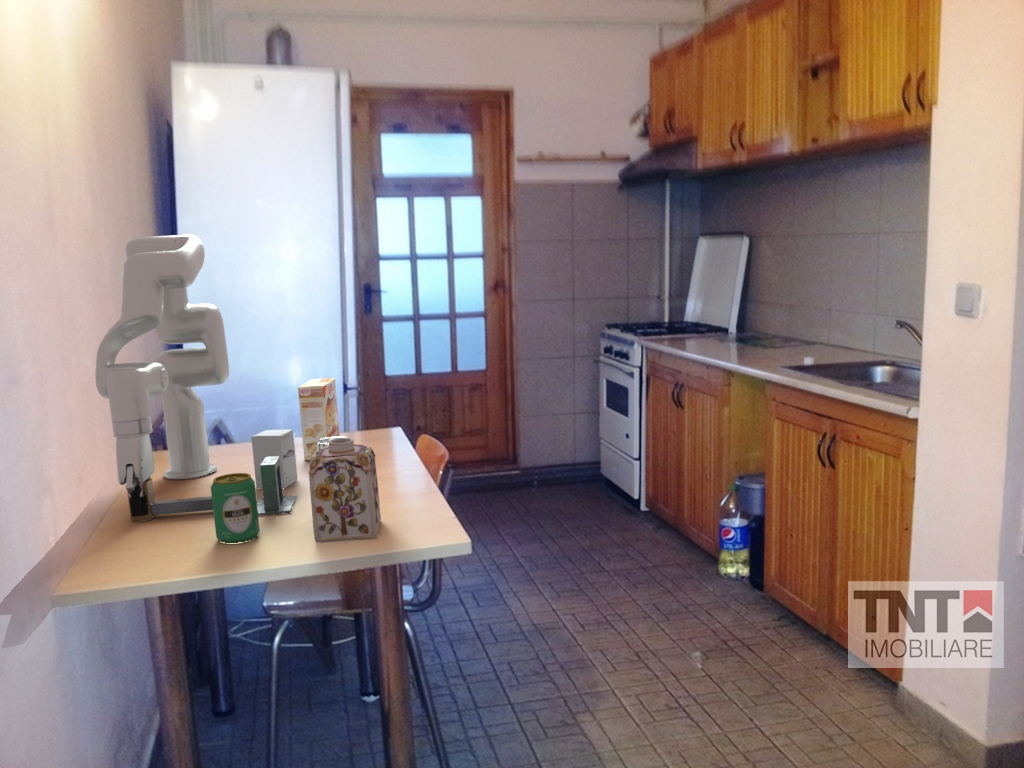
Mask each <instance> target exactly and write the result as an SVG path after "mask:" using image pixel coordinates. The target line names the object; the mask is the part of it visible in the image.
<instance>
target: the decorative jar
mask: <svg viewBox="0 0 1024 768" xmlns="http://www.w3.org/2000/svg"><path fill="white" fill-rule="evenodd" d="M309 461H310V463H309V466H308V467H309V468H308V469H309V470H308V473H307V474H308V478H309V479H308V480H309V492H310V493H309V494H310V503H311V505H310V506H311V518H312V528H313V538H314V541H315V542H316V543H317V542H321V543H331V542H341V541H342V542H343V541H345V542H346V541H355V540H356V541H357V540H367V539H376V538H377V537H378V532H379V529H380V526H381V521H382V518H381V508H380V504H381V503H380V495H379V493H380V492H379V484H378V483H379V482H378V475H377V466H376V454H375V451H374V450H373V448H372V447H371V446H368V445H365V444H358V443H357V444H355V443H354V439H353V438H350V437H346V438H338V439H332V440H330V441H329V447H327V448H323V449H320V450H317V451H314V453H313V454H312V455H311V460H309Z"/></svg>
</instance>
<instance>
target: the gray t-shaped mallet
mask: <svg viewBox="0 0 1024 768" xmlns="http://www.w3.org/2000/svg"><path fill="white" fill-rule="evenodd" d="M138 480H139V479H138ZM138 480H134V483H135V482H139V481H138ZM143 486H144V496H146V500H147V508H148V514H147V515H146V516H135V517H133V516H132V515H131V508H130V500H129V494H128V491H127V490H126V491H127V497H128V505H129V506H128V508H129V513H130V521H131V523H136V522H146V521H152V520H153V519H154V518H155V517H156V516H162V515H172V514H183V513H184V514H185V513H194V512H197V513H198V512H207V511H213V503H212V495H210V496H199V497H189V498H188V497H187V498H186V497H185V498H177V499H175V498H174V499H165V500H164V499H163V500H155V492H154V484H153V477H151V478H150V479H146V480H145V481H144V482H143ZM135 487H138V488H139V485H137V486H135Z"/></svg>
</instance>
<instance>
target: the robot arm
mask: <svg viewBox="0 0 1024 768" xmlns="http://www.w3.org/2000/svg"><path fill="white" fill-rule="evenodd" d="M125 253H126V260H125V262H124V265H123V277H122V278H123V279H122V298H121V314H120V317H119V318H118V320H117V321H116V322H115V323H114V324H113V325H111V327H110V328H109V330H108V331H107V332H106V334H105V335H104V336H103V338H102V340H101V341H100V343H99V346H98V348H97V352H96V358H95V359H96V360H95V361H96V363H95V386H96V390H97V392H98V394H99V395H100V396H101V397H102V398H103V399H107V400H108V401H109V409H110V417H111V418H110V419H111V424H112V432H113V437H114V438H116V439H115V440H116V441H115V451H116V453H115V454H116V455H115V457H116V468H117V478H118V479H117V480H118V484H120V486H121V485H122V486H123V485H125V489H126V491H128V492H127V495H128V494H129V500H130V507H129V509H130V508H131V515H132V516H133V517H135V516H146V515H147V514H148V508H147V500H146V496H144V486H143V482H144V481H145V480H146V479H150V478H152V477H151V476H152V475H154V473H155V460H154V451H153V447H152V440H151V435H150V434H152V433H153V432H154V430H153V423H152V422H153V421H152V416H151V415H152V414H151V406H150V399H149V398H154V397H158V396H160V397H161V403H162V410H163V411H162V412H163V419H164V429H165V434H166V444H167V445H166V446H167V454H168V460H169V461H168V462H169V468H168V469H166V470H165V471H164V472H163V475H164V478H166V479H167V480H188V479H189V480H190V479H196V478H200V476H201V477H204V476H203V475H205V476H207V475H206V474H209V473H211V474H213V473H212V472H214V471H215V472H216V471H217V470H218V465H217V464H216V463H212V462H211V461H210V453H209V443H208V441H209V440H208V435H207V425H206V416H205V409H204V408H205V407H204V402H203V401H202V399H201V397H200V396H199V394H197V392H196V391H195V390H194V389H193V388H195V387H206V386H216V385H218V386H219V385H222V384H224V383H226V381H227V380H228V378H229V376H230V375H229V374H230V364H229V357H228V349H227V342H226V341H227V339H226V333H225V326H224V319H223V316H222V314H221V311H220V309H219V308H218V307H217V306H216V305H214V304H211V303H195V304H191V303H190V302H189V297H188V289H187V288H189V287H190V286H191V285H192V284H193V283H194V282H195V280H196V278H197V277H198V274H199V273H200V271H201V269H202V268H203V265H204V263H205V248H204V244H203V243H202V240H201V239H200V238H199V237H198V236H196V235H193V234H179V235H178V234H177V235H175V234H174V235H157V236H156V235H154V236H144V237H143V236H142V237H137V238H134V239H131V240H129V241H128V242H127V243H126V245H125ZM154 329H155V333H156V338H158V340H159V342H160V343H162V344H165V345H183V344H186V345H187V344H201V343H202V344H203V345H204V347H194V348H193V347H189V348H187V347H186V348H175V349H174V348H173V349H167V350H164V351H162V352H160V353H159V354H157V356H156V357H155V358H154V361H144V362H123V363H116V359H117V357H118V355H119V353H120V351H121V350H122V349H123V348H124V347H125V346H126V345H127V344H128V343H130V342H132V341H133V340H136V339H137V338H138V337H141V336H142V335H144V334H146V333H148V332H150V331H152V330H154ZM215 472H214V473H215ZM209 475H210V474H209ZM138 479H139V480H138ZM134 480H138V481H139V482H135V483H134ZM137 485H139V488H138V487H135V486H137ZM129 500H128V501H129ZM131 515H130V516H131Z"/></svg>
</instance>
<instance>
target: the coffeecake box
mask: <svg viewBox="0 0 1024 768" xmlns="http://www.w3.org/2000/svg"><path fill="white" fill-rule="evenodd" d="M297 391H298V403H299V414H300V415H299V416H300V425H301V436H302V447H303V461H310V460H311V455H312V454H313V453H314V451H316V441H317V440H320V439H323V438H329V437H341V436H340V427H339V426H340V422H339V413H338V411H339V410H338V400H337V389H336V378H335V377H328V378H327V377H323V378H311V379H309V380H308V381H306V382H304V383H303V384H301V385H299V386H297Z"/></svg>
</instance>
